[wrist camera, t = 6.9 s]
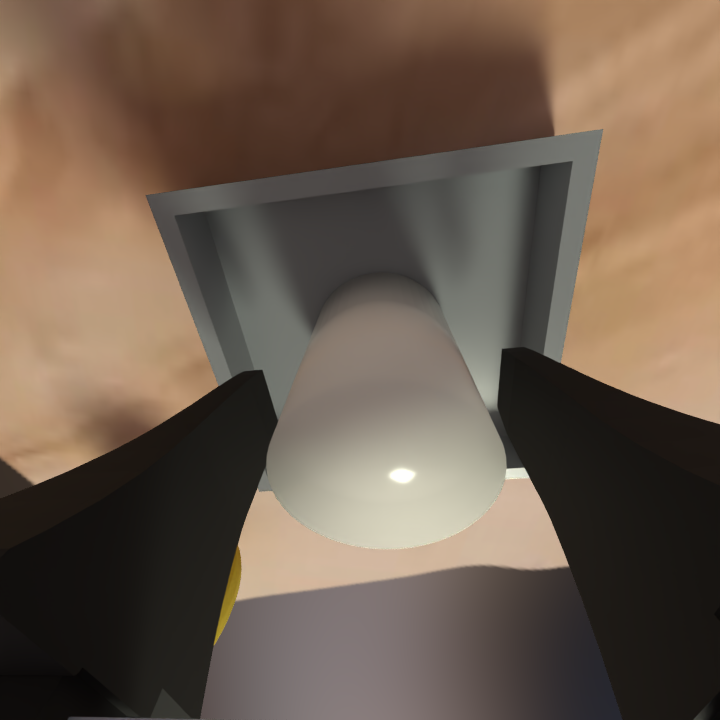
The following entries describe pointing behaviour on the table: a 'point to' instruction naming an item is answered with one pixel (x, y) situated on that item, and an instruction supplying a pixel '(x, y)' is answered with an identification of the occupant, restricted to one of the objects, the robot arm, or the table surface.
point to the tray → (388, 253)
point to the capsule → (385, 424)
